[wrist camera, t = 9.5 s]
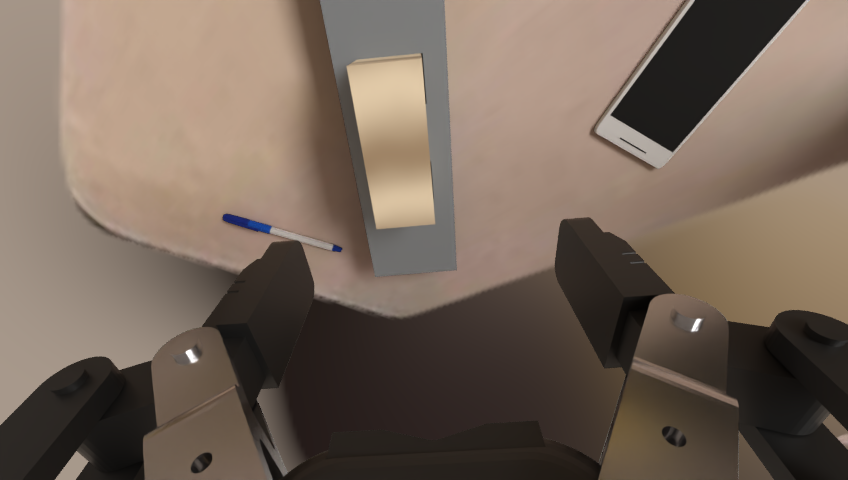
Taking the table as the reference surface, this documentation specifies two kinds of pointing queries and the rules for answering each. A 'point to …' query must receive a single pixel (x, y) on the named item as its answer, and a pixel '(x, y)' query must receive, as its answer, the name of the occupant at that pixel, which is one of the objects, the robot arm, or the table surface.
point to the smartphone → (691, 73)
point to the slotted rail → (426, 33)
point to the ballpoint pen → (278, 232)
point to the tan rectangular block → (394, 138)
